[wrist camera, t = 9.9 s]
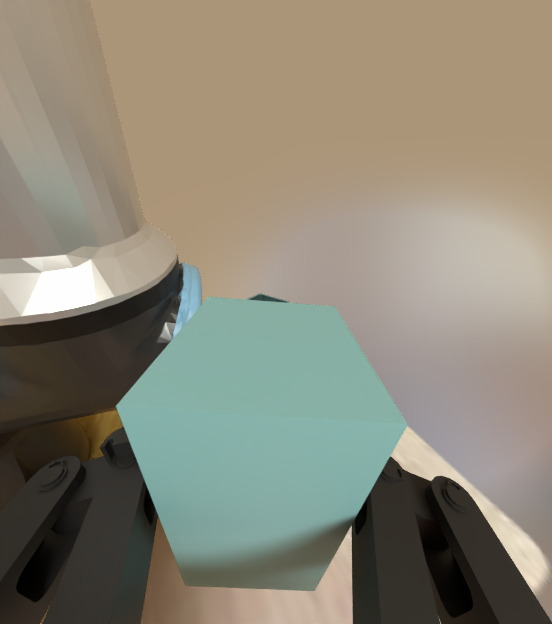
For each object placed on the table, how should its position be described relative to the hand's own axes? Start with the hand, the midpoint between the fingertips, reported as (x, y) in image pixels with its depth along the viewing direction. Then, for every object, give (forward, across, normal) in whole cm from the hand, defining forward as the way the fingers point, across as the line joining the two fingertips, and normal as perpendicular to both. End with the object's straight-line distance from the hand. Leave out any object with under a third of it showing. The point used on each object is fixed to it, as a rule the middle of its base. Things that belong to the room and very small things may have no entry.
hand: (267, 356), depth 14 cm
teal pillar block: (-5, 0, -7) cm, 9 cm away
